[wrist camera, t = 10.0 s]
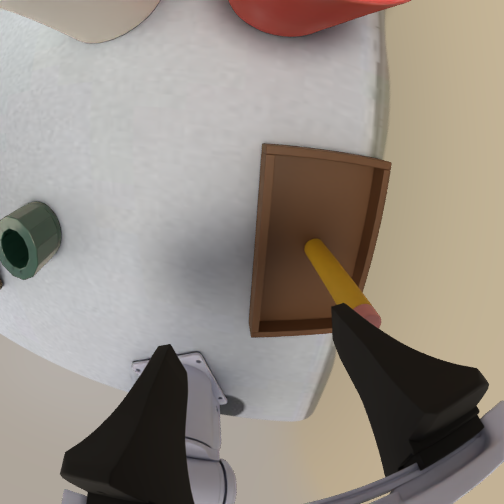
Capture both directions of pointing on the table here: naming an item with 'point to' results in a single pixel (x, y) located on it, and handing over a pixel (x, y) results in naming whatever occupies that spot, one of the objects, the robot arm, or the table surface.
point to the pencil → (339, 281)
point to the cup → (85, 16)
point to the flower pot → (304, 13)
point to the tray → (311, 233)
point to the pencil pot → (28, 239)
